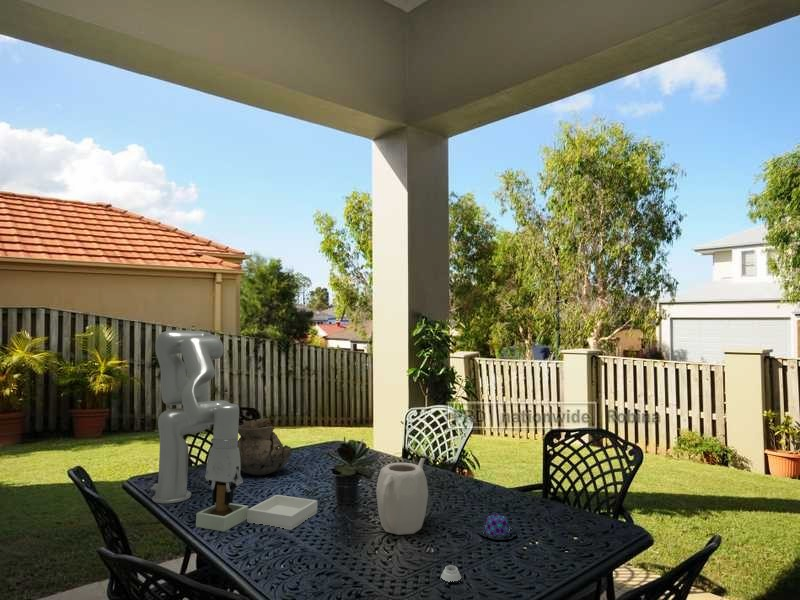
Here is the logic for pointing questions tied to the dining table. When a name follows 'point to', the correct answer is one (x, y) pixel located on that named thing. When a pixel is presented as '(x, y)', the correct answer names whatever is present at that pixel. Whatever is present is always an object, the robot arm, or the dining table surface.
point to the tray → (282, 511)
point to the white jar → (451, 574)
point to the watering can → (402, 497)
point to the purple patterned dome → (497, 525)
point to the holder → (221, 518)
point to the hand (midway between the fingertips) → (222, 501)
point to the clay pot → (261, 448)
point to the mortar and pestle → (221, 501)
